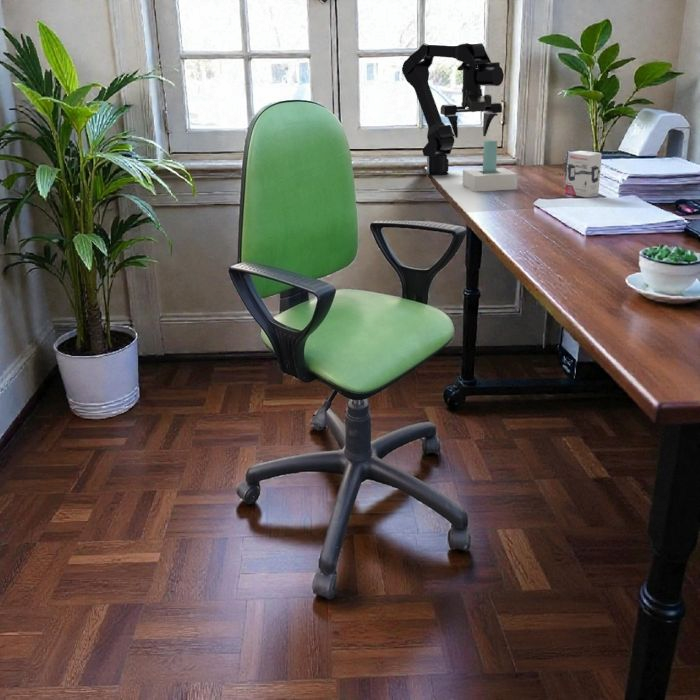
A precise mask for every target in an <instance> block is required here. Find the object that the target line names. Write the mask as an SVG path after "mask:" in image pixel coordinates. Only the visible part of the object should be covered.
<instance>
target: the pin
mask: <svg viewBox="0 0 700 700" xmlns="http://www.w3.org/2000/svg"><path fill="white" fill-rule="evenodd" d="M482 152H483V155H482V169H483V174H489V173H496V168H497V160H498V159H497V158H498V157H497V154H498V141H497V140H484V141H483V151H482Z"/></svg>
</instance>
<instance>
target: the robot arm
mask: <svg viewBox="0 0 700 700" xmlns="http://www.w3.org/2000/svg"><path fill="white" fill-rule="evenodd" d="M434 57H437V58H452V59H455V60H457V61H459V62H461V64H460V65H459V66H458V67H457V71H462V88H461V93H462V98H461V100H462V102H461V106H459V105H458V106H457V105H456V104H442V105H441V106H440V112H439V110H438V109H439V108H438V107H437V103H436V101H435V97H434V95H433V92H432V90H431V87H430V84H429V78H430V72H429V68H430V67H431V66H432V65H433V61H434ZM500 64H501V63H500V62H499V61H497V62H492V61H491V59H490V57H489V55H488V54H487V51H486V49H485V46H484V43H482V42H465V43H459V44H441V43H434V42H426V43H423V44H421V45H420V46H419V48H418V49H417V50H415V51H414V52H413V53H412V54H410V55H409V56H408V58H407V59H406V60H405V61H404V62H403V65H402V67H401V71H402V75H403V76H404V79H405V80H406V82H407V83H408V84H409V85H410V86H412V87H413V89H414V91H415V95H416V97H417V100H418V102H419V105H420V108H421V111H422V113H423V116H424V119H425V122H426V125H427V133H426V135H427V137H426V138H427V143H426V144H425V145H424V147H423V148H422V149H421V150H422V154H423V157H426V170H425V173H426V174H427V175H429V176H433V174H437V175H438V176H439V175H447V174H449V161H450V160H449V158H448V155H450V154H451V153H452V150H453V146H454V145H455V139H458V137H459V133H458V131H459V130H458V118H459V116H458V115H457V113H475V112H476V113H477V112H480V113H483V112H484V113H483V121H482V123H483V125H482V127H483V128H482V134H483V135H482V136H483V137H486V135H487V133H488V130H489V127H490V125H491V123H492V120H493V119H494V118H495V117H496V116H498V115H499V114H501V113H503V105H502V103H500V102H492V95H491V94H484V95H483V90H482V89H483V88H482V86H483V87H499V86H500V85H502V83H503V81H504V76H505V74H504V71H503V69H502V67H501V66H500ZM441 115H443V116H444V118H447V119H448V121H449V123H450V124H447V125H446V124H445V123H444V122H443V120H442V117H441Z"/></svg>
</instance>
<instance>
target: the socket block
mask: <svg viewBox="0 0 700 700" xmlns="http://www.w3.org/2000/svg"><path fill="white" fill-rule="evenodd" d="M462 185H463V186H464V187H465V188H468V189H469V190H471V191H473V192H475V193H477V192H492V191H493V192H494V191H507V190H510V191H512V190H517V188H518V187H517V186H518V173H515V172H513V171H512V170H509V169H507V168H505V167H496V173H489V174H483V168H473V169H462Z"/></svg>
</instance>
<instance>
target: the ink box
mask: <svg viewBox="0 0 700 700" xmlns="http://www.w3.org/2000/svg"><path fill="white" fill-rule="evenodd" d="M602 156H603V154H602V153H601V152H598V151H597V152H595V151H589V150H577V151H571V152H570V151H569V152H568V154H567V165H566V166H567V167H566V175H565V176H566V177H565V179H566V180H565V191H564V193H565V194H567V195H571V196H572V195H573V196H577V197H583V198H591V197H597V196H599V191H600V189H599V188H600V178H601V168H602V167H601V166H602V158H603V157H602Z"/></svg>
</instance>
